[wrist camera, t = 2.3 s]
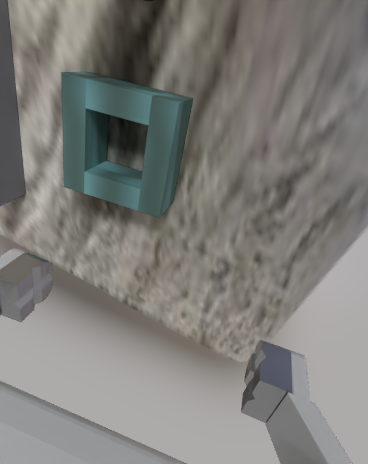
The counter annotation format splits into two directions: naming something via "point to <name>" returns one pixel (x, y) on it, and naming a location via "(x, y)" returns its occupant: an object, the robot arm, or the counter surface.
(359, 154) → the counter surface
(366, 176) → the counter surface
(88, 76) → the block
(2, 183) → the wall
